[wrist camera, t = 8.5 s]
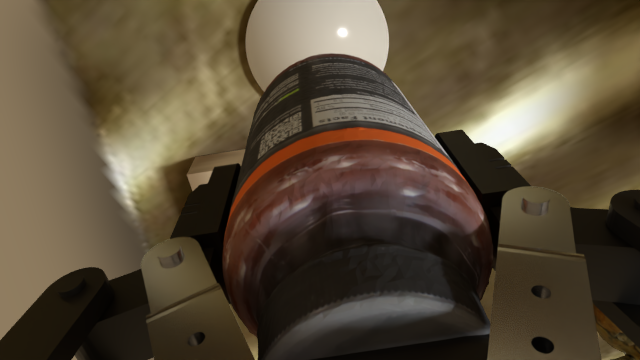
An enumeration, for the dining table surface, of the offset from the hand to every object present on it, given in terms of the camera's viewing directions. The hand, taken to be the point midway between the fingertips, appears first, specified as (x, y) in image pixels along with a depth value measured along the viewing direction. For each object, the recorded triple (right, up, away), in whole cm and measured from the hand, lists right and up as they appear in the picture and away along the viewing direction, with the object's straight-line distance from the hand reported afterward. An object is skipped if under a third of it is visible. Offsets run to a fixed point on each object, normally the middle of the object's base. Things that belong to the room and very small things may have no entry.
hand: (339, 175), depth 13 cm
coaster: (-1, +9, +17) cm, 19 cm away
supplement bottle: (0, +2, +4) cm, 4 cm away
